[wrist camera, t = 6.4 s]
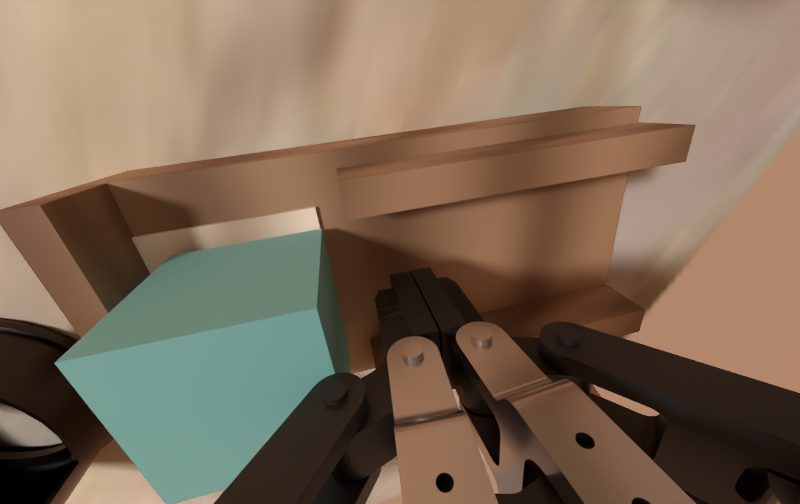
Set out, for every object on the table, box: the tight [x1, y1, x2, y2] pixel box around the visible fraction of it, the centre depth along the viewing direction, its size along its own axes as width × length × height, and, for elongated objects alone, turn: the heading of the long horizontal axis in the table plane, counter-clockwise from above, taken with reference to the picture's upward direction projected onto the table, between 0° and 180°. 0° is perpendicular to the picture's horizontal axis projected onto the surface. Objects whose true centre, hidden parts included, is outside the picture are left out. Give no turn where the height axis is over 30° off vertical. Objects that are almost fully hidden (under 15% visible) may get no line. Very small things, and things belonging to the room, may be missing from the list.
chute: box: [0, 106, 695, 374], centre depth 13 cm, size 20×10×6 cm, turn 97°
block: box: [55, 229, 351, 504], centre depth 10 cm, size 5×5×5 cm
